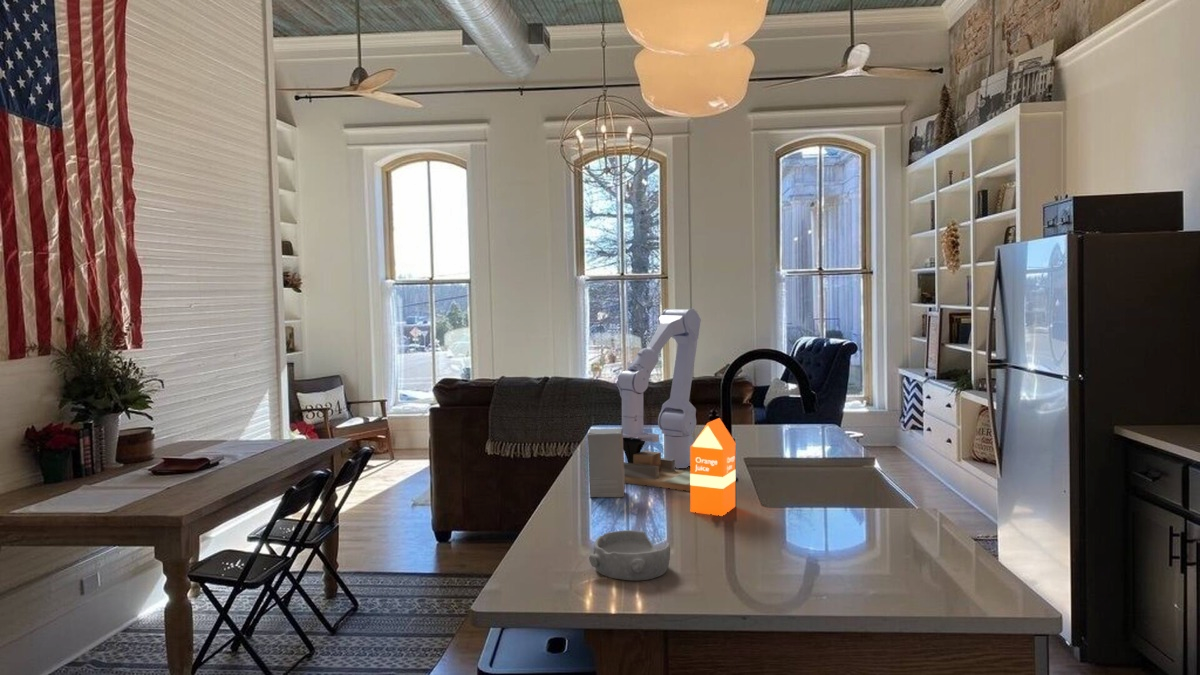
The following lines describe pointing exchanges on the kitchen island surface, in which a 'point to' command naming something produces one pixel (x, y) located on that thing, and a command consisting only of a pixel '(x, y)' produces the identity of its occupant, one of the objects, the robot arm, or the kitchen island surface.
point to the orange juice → (712, 470)
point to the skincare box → (606, 462)
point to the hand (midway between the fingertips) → (632, 466)
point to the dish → (629, 556)
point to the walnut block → (648, 458)
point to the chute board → (659, 481)
